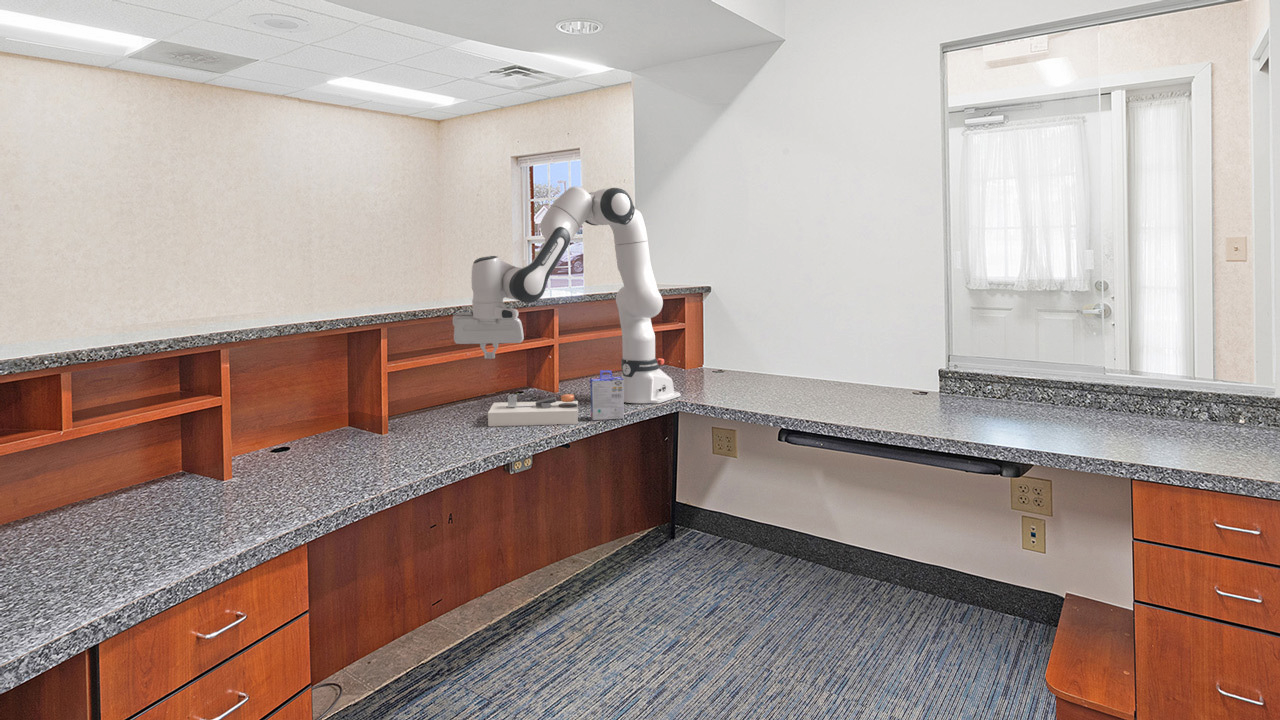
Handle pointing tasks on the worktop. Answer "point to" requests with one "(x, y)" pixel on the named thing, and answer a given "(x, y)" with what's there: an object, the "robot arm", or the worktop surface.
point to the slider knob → (512, 400)
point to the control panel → (533, 414)
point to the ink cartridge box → (607, 397)
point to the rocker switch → (546, 401)
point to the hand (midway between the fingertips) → (489, 358)
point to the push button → (567, 398)
